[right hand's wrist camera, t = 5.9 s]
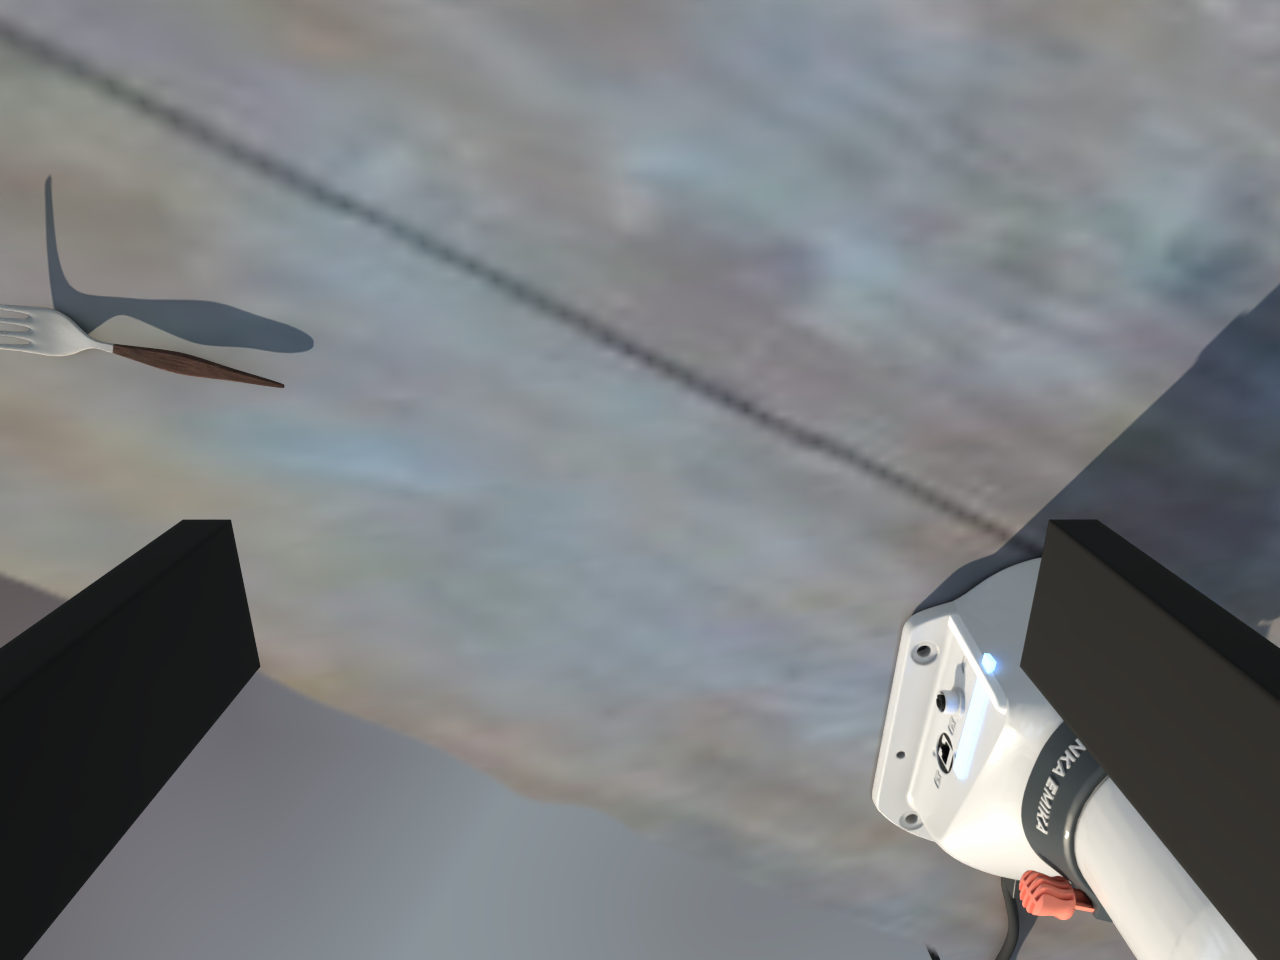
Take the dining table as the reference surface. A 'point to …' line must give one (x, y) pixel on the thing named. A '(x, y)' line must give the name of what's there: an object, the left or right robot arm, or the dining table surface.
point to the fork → (109, 346)
